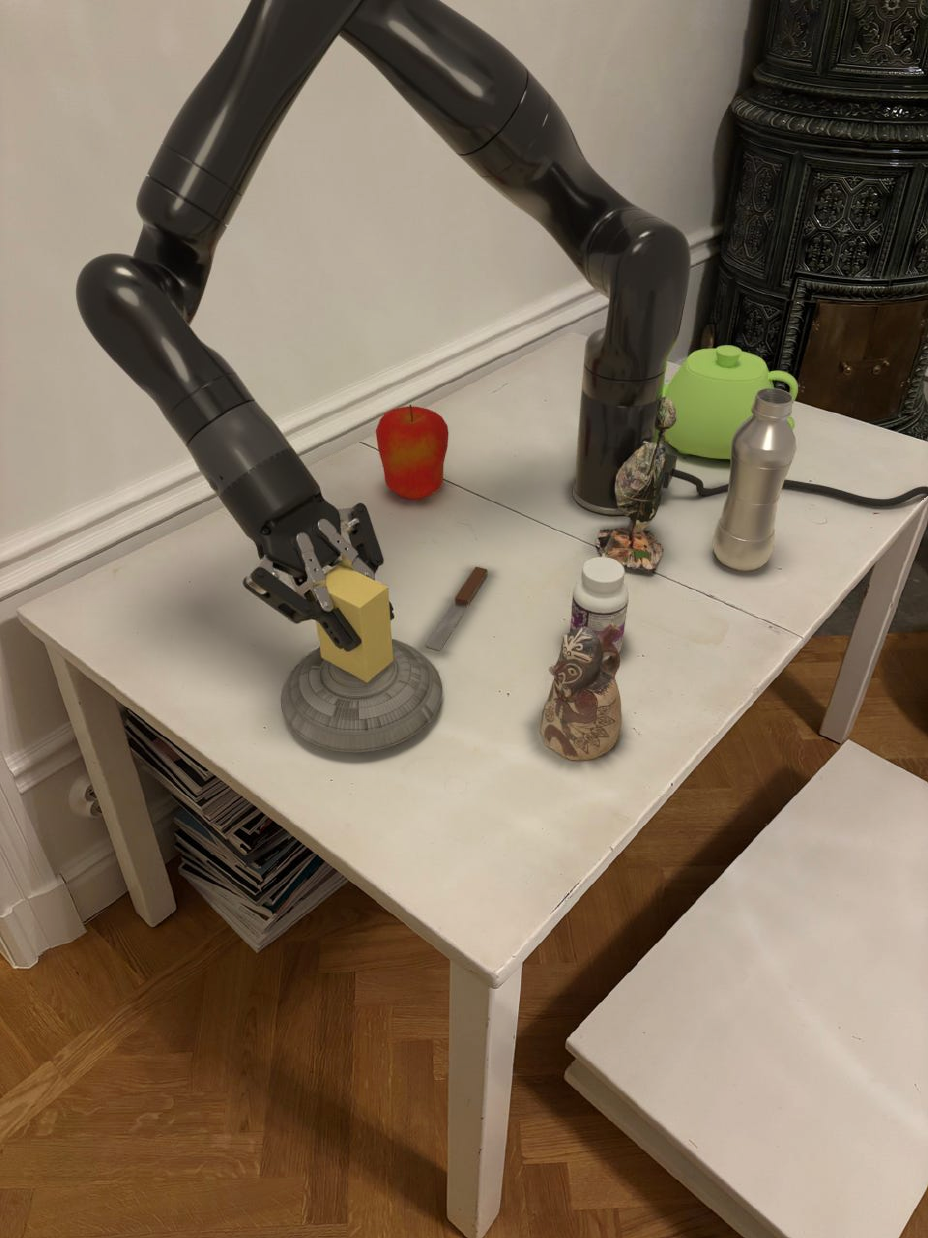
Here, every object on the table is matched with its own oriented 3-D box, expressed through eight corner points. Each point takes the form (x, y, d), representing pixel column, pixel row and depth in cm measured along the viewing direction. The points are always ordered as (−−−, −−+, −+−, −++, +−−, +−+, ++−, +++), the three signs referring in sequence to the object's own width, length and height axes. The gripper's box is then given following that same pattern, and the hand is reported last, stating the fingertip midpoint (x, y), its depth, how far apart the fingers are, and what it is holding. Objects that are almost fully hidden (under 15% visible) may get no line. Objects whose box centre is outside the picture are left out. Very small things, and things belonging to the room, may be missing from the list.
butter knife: (474, 572, 104) (474, 565, 104) (488, 575, 104) (488, 569, 103) (425, 647, 95) (425, 640, 94) (440, 650, 94) (439, 644, 94)
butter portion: (347, 636, 88) (339, 563, 82) (393, 661, 85) (388, 586, 79) (320, 657, 85) (310, 583, 80) (367, 683, 83) (359, 607, 77)
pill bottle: (564, 629, 97) (570, 553, 90) (615, 626, 97) (625, 550, 91) (573, 665, 92) (580, 587, 86) (627, 661, 93) (637, 584, 87)
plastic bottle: (736, 584, 102) (773, 417, 89) (697, 552, 107) (726, 389, 94) (781, 568, 104) (824, 402, 92) (741, 537, 109) (776, 376, 96)
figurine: (531, 710, 88) (536, 610, 80) (603, 698, 89) (615, 598, 81) (554, 767, 82) (562, 665, 75) (630, 753, 83) (646, 652, 76)
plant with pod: (676, 529, 111) (702, 369, 98) (652, 583, 102) (678, 416, 90) (609, 514, 113) (626, 357, 100) (581, 566, 105) (596, 401, 92)
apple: (371, 504, 115) (363, 416, 108) (393, 470, 121) (387, 385, 114) (438, 514, 113) (435, 425, 106) (457, 479, 120) (455, 393, 112)
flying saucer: (381, 788, 81) (376, 744, 77) (249, 721, 87) (239, 678, 83) (472, 685, 90) (472, 642, 87) (348, 632, 97) (343, 590, 93)
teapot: (613, 456, 124) (623, 362, 116) (631, 405, 135) (641, 316, 127) (786, 480, 119) (809, 383, 110) (790, 425, 130) (811, 334, 122)
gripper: (204, 488, 72) (335, 669, 74) (331, 418, 81) (445, 582, 83) (173, 523, 78) (295, 689, 80) (295, 454, 87) (402, 606, 89)
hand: (371, 633), depth 82 cm, fingers closed on butter portion, 3 cm apart
